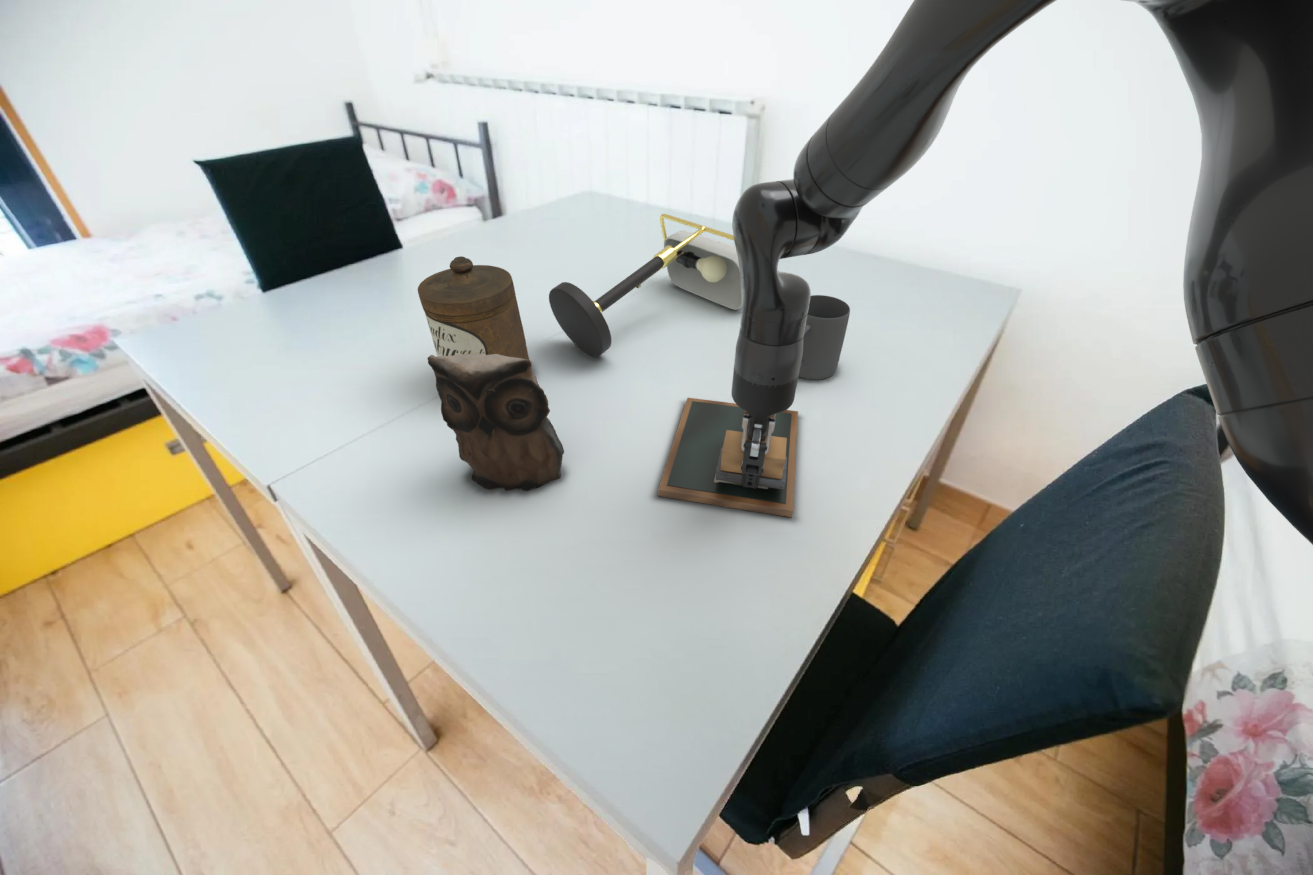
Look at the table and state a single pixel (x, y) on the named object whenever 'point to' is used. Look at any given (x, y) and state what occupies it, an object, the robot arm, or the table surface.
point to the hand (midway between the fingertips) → (751, 471)
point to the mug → (823, 336)
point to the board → (699, 456)
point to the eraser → (734, 455)
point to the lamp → (688, 265)
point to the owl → (498, 419)
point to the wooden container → (473, 311)
